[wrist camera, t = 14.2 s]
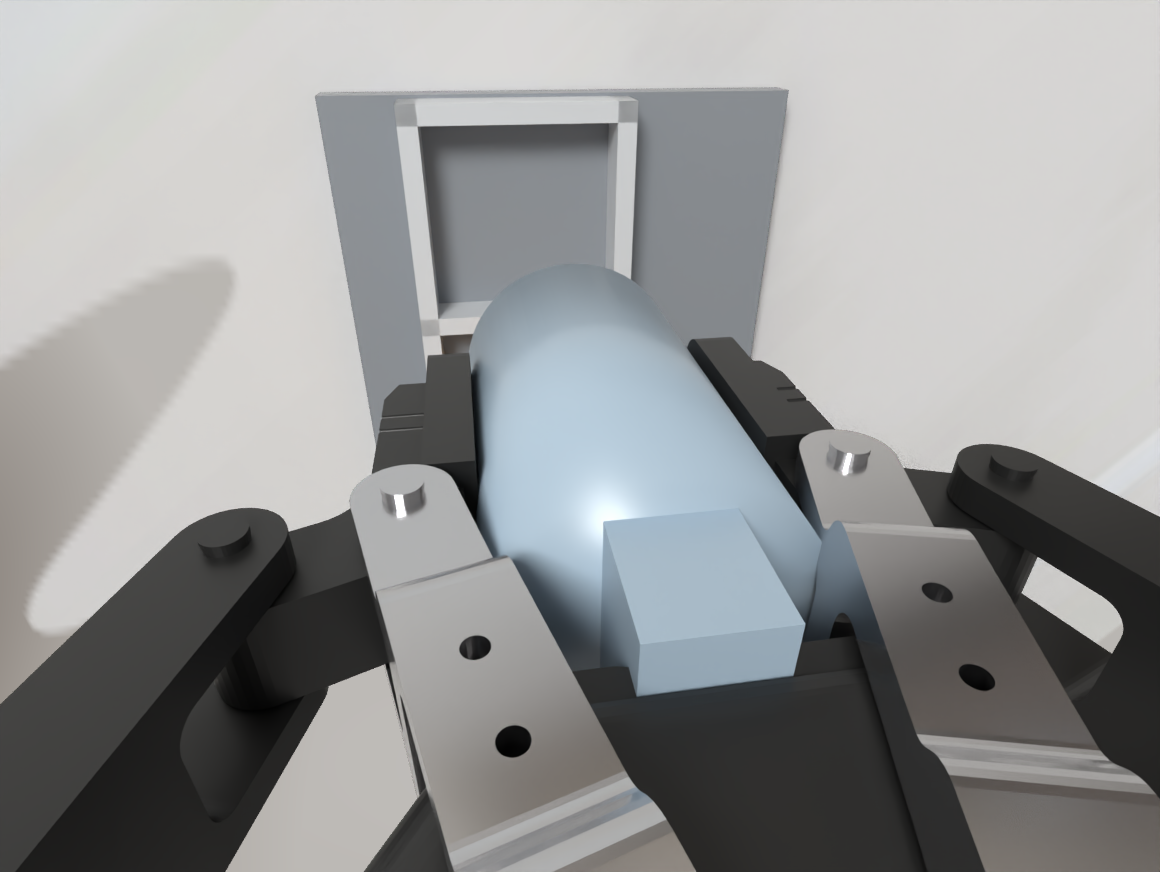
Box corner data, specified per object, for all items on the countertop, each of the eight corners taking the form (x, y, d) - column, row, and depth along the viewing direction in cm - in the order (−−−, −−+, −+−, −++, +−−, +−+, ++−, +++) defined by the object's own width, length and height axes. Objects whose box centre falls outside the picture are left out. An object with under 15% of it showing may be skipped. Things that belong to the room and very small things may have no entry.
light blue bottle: (677, 258, 13) (962, 570, 6) (663, 441, 15) (860, 840, 8) (459, 268, 12) (472, 627, 5) (476, 457, 15) (502, 901, 7)
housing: (776, 87, 24) (807, 95, 22) (729, 437, 31) (749, 468, 29) (320, 92, 22) (305, 101, 20) (383, 466, 29) (378, 501, 27)
